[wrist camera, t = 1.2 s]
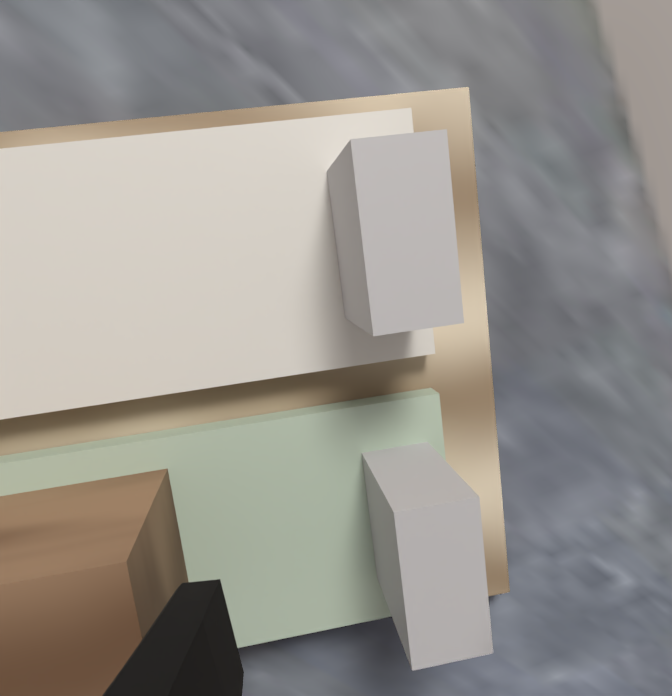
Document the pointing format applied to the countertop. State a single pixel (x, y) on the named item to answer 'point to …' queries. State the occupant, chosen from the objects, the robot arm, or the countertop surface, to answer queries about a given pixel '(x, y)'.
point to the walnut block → (83, 580)
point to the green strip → (313, 518)
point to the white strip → (221, 257)
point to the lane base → (342, 383)
